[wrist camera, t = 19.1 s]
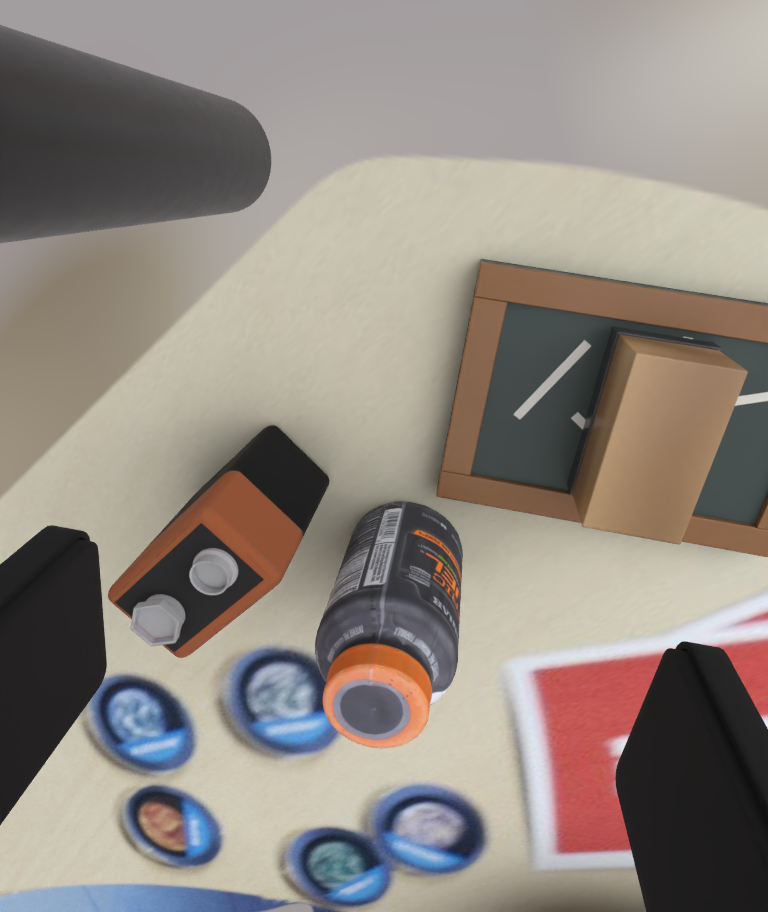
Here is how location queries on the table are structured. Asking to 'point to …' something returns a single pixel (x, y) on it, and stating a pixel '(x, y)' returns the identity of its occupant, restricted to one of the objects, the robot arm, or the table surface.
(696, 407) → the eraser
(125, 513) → the table surface
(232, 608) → the battery
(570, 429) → the board
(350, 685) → the pill bottle
